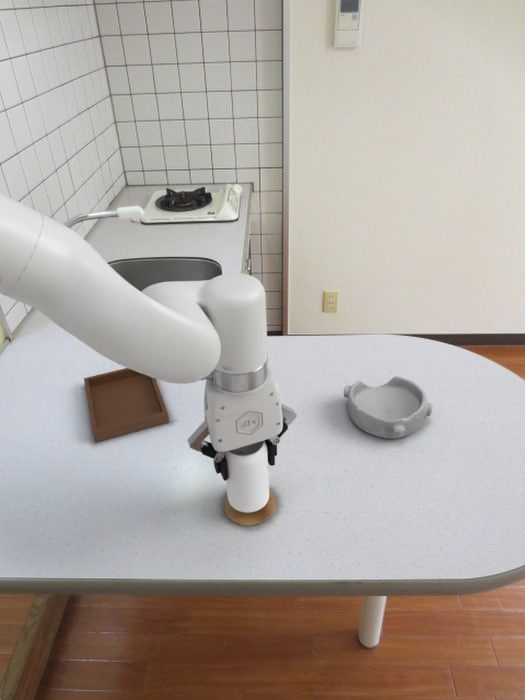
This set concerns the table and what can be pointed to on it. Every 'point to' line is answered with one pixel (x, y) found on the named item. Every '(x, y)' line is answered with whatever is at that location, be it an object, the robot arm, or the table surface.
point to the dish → (388, 407)
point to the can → (248, 477)
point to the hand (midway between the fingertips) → (246, 465)
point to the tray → (123, 403)
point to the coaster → (252, 513)
